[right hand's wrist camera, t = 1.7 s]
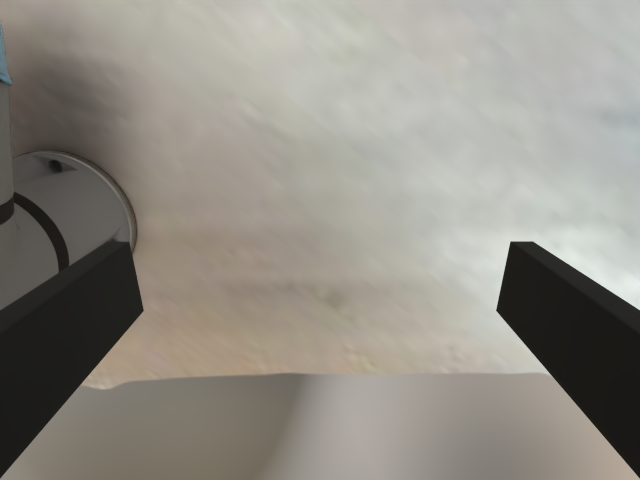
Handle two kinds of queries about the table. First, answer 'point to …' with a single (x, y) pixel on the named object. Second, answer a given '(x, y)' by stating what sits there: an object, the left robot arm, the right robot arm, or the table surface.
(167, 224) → the table surface
